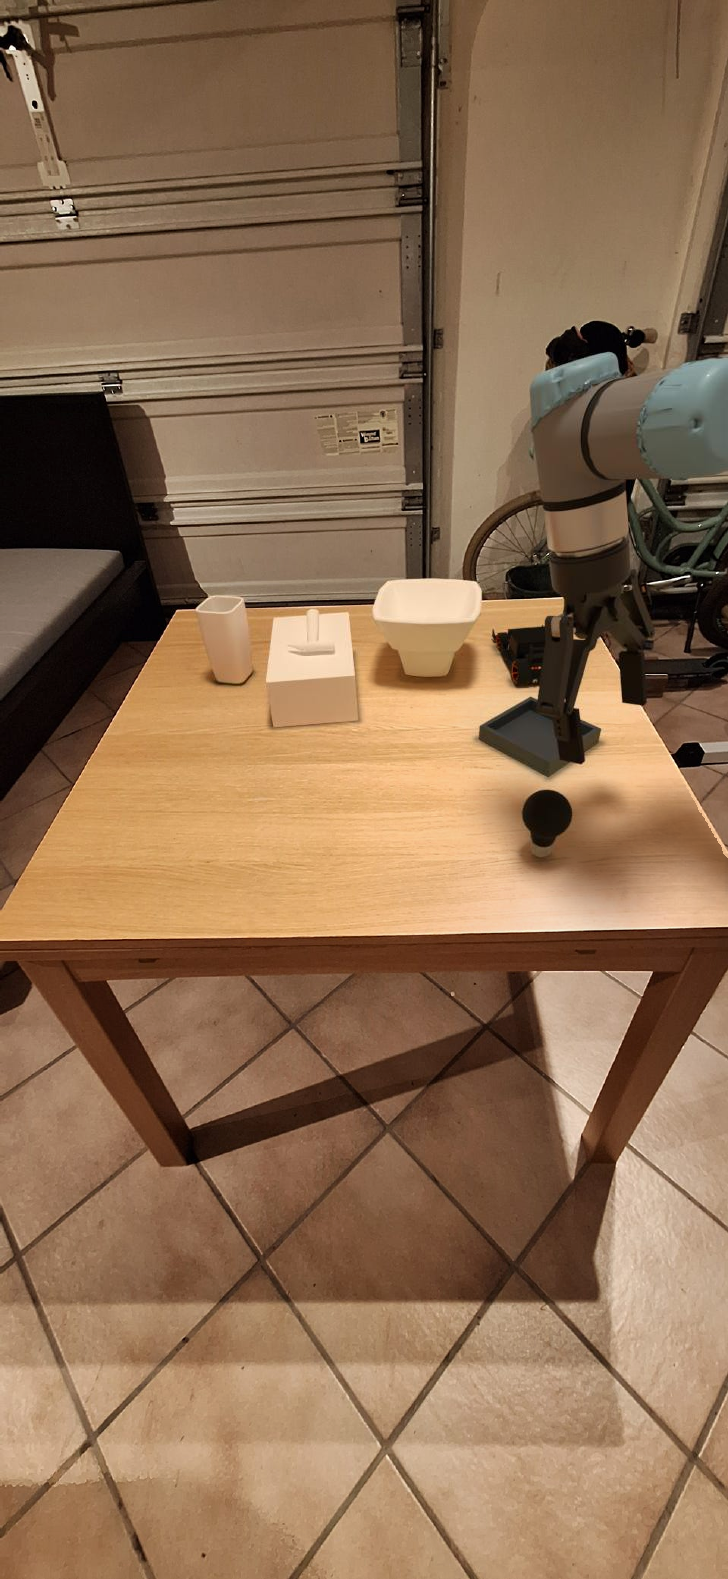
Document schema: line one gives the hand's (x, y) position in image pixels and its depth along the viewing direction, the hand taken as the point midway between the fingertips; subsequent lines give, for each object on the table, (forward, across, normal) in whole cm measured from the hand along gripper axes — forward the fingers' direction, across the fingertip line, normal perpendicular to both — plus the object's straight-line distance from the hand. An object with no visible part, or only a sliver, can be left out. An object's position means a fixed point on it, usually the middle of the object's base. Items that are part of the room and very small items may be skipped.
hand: (604, 730), depth 73 cm
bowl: (+7, -19, -48) cm, 52 cm away
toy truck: (+11, -34, -36) cm, 51 cm away
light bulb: (+15, +8, -6) cm, 18 cm away
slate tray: (+13, -13, -20) cm, 27 cm away
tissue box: (+3, -1, -59) cm, 59 cm away
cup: (-1, +7, -73) cm, 73 cm away
